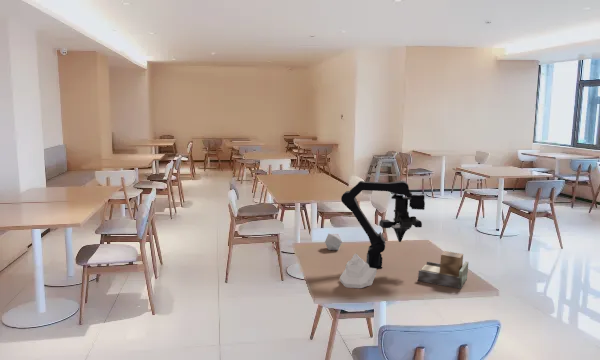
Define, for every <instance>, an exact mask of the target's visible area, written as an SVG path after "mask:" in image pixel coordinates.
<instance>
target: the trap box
mask: <svg viewBox="0 0 600 360" xmlns="http://www.w3.org/2000/svg"><path fill="white" fill-rule="evenodd" d="M468 270H469V261H465V262H464V263H463V264H462V268H461V269H460V271H459V276H456V275H450V274H445V273H440V263H439V262H432V261H426V264H424V265H423V267H422V268H421V269H420V270H418V273H417V274H418V276H417V281H418V282H423V283H428V284H434V285H438V286H443V287H444V286H445V287H448V288H453V289H454V288H455V289H459V290H461V289H462V288H463V286H464V285H465V283H466V281H467V279H468V272H469V271H468Z"/></svg>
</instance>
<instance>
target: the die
mask: <svg viewBox="0 0 600 360" xmlns="http://www.w3.org/2000/svg"><path fill="white" fill-rule="evenodd" d="M324 243H325V244H324V245H325V246H326V248H327V250H328V251H339V250H340V247H341V244H342V243H343V241H342V238H341V236H340V234H339V233H328V234H327V236H326V239H325V240H324Z"/></svg>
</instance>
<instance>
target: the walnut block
mask: <svg viewBox="0 0 600 360" xmlns="http://www.w3.org/2000/svg"><path fill="white" fill-rule="evenodd" d="M463 262H464V254H463V253H460V252H454V251H448V250H444V251H443V252H442V253H441V254H440V263H439V264H440V273H445V274H450V275H456V276H459V271H460V269H461V268H462V266H463V265H464V263H463Z"/></svg>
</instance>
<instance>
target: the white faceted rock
mask: <svg viewBox="0 0 600 360" xmlns="http://www.w3.org/2000/svg"><path fill="white" fill-rule="evenodd" d="M377 270H378V268H370V267H369V264H367V263H366V261H364V259H363V258H361V257H360V256H359V255H358V253H354V254H352V256H351V259H350V260H348V261H347V263H346V264H345V269H344V270H343V271H342V273H341V274H340V276H339V281H340V283H341V284H342V285H343V286H344V287H345V288H350V289H363V288H366V287H368V286H369V287H370V286H372V285H373V282H374V280H375V278H376V275H377V272H378V271H377Z"/></svg>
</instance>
